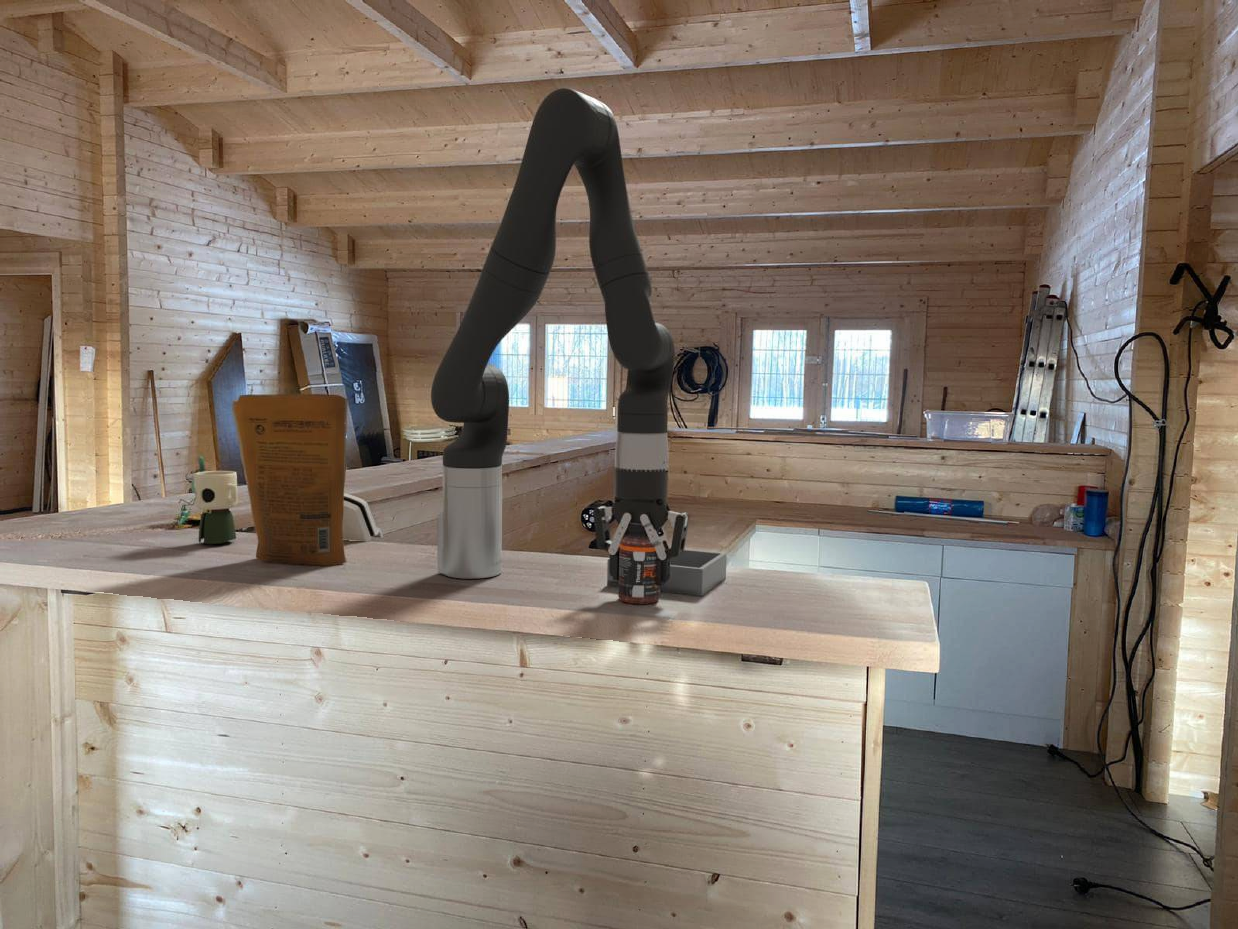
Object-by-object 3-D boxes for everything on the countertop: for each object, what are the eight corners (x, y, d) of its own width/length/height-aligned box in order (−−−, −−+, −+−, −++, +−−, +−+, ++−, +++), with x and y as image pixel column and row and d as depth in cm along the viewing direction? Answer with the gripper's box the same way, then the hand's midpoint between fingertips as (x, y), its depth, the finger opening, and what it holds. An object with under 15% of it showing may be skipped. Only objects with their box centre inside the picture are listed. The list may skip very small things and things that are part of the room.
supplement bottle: (647, 607, 121) (649, 526, 120) (610, 601, 124) (611, 522, 123) (667, 598, 126) (668, 520, 125) (630, 593, 129) (632, 516, 128)
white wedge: (384, 537, 170) (372, 490, 166) (369, 549, 166) (357, 502, 162) (315, 530, 176) (302, 485, 172) (299, 541, 172) (285, 496, 168)
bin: (607, 585, 134) (607, 559, 133) (638, 568, 146) (638, 544, 145) (701, 596, 128) (702, 569, 128) (726, 578, 140) (726, 553, 140)
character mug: (180, 543, 160) (178, 472, 159) (215, 537, 166) (213, 469, 165) (219, 550, 155) (217, 476, 154) (254, 543, 161) (252, 473, 160)
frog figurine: (146, 528, 176) (149, 454, 176) (215, 524, 193) (218, 456, 193) (183, 531, 173) (187, 455, 173) (250, 526, 190) (253, 458, 190)
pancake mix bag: (340, 570, 141) (337, 394, 138) (233, 563, 145) (228, 392, 142) (360, 561, 148) (358, 394, 145) (257, 555, 151) (253, 391, 148)
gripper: (583, 464, 123) (582, 582, 124) (682, 470, 117) (679, 593, 119) (605, 459, 129) (603, 572, 131) (698, 465, 124) (695, 582, 126)
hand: (639, 581), depth 125 cm, fingers closed on supplement bottle, 6 cm apart
